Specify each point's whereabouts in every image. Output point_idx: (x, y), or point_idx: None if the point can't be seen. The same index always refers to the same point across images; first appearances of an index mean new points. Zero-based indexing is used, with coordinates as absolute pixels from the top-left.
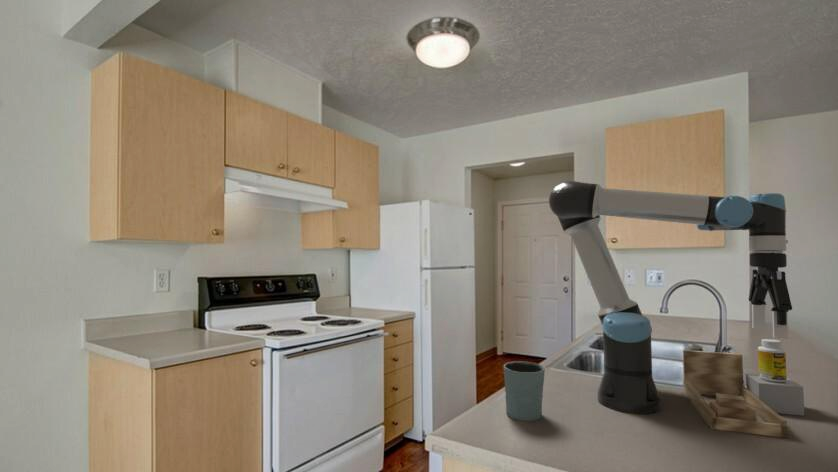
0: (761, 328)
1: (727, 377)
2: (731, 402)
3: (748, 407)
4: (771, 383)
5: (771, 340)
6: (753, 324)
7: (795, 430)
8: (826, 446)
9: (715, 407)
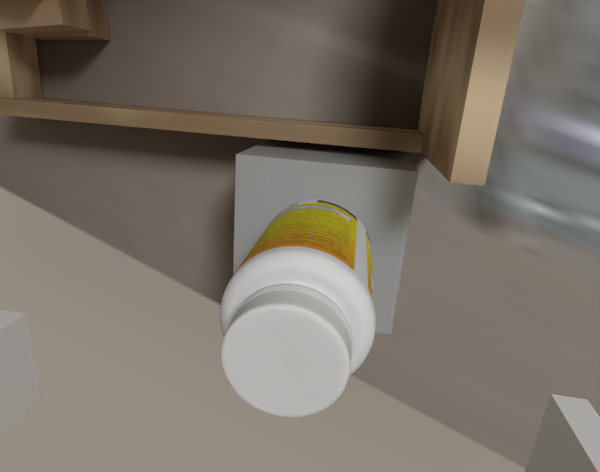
0: (534, 462)
1: (438, 81)
2: None
3: (21, 13)
4: (248, 211)
5: (284, 367)
6: (571, 432)
7: (109, 168)
8: (17, 188)
9: None
